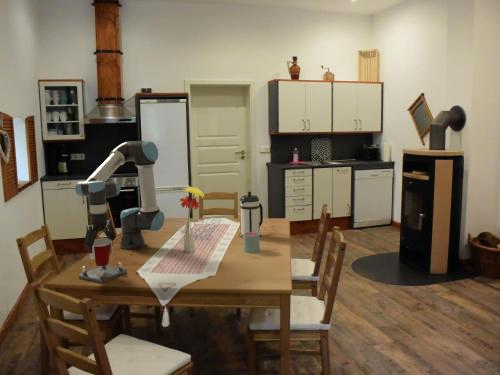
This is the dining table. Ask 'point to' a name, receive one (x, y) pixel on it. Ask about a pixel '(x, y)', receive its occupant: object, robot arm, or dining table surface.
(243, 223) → the coffee press
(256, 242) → the mug
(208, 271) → the dining table surface
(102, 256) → the plastic cup
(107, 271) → the chassis
